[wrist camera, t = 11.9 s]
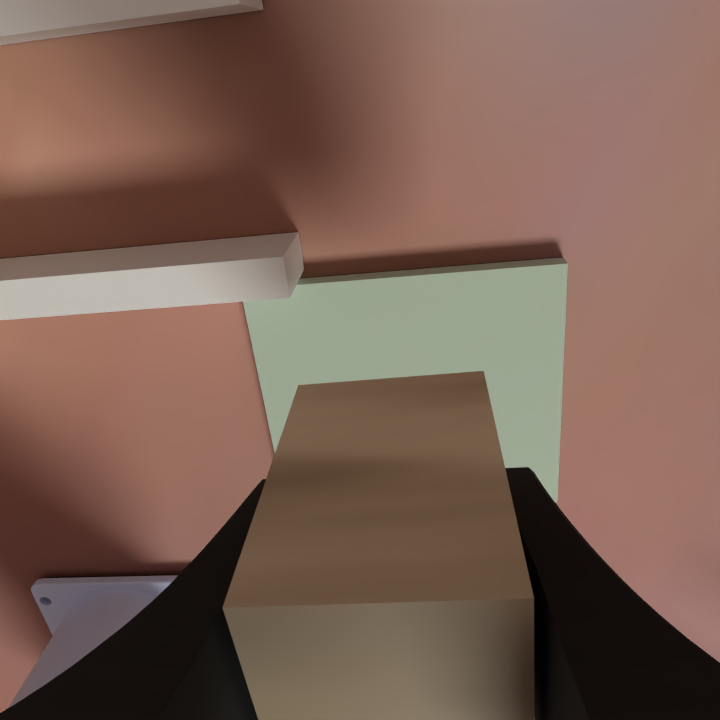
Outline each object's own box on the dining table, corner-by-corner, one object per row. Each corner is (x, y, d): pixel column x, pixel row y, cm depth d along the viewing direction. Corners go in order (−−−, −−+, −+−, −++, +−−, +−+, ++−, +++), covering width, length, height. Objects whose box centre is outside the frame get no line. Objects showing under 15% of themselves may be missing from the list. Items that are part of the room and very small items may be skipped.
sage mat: (554, 491, 23) (557, 502, 22) (289, 501, 24) (286, 511, 23) (563, 257, 19) (567, 263, 18) (245, 283, 20) (240, 289, 19)
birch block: (490, 517, 15) (534, 786, 9) (326, 525, 15) (279, 784, 10) (483, 370, 13) (533, 598, 8) (298, 385, 13) (222, 607, 8)
